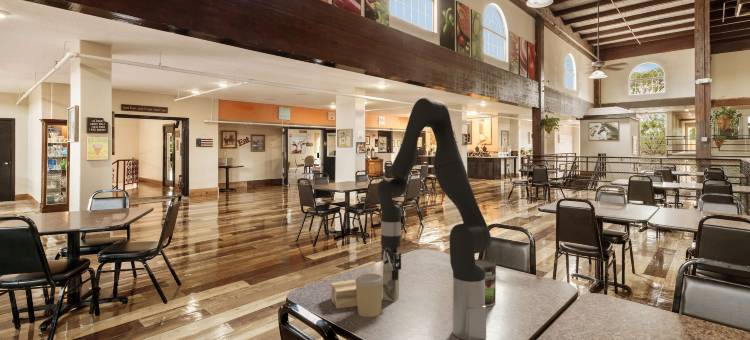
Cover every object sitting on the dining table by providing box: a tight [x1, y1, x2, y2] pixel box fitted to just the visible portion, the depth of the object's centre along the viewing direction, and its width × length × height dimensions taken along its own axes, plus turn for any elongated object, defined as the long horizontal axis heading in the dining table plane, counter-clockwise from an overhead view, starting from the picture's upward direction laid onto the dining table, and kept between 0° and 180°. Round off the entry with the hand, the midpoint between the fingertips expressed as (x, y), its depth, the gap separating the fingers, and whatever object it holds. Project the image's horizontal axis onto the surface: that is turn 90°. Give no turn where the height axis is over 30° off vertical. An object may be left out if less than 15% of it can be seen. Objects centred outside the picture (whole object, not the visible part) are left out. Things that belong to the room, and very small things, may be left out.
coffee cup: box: [354, 273, 383, 318], centre depth 128 cm, size 9×9×12 cm
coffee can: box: [475, 258, 497, 308], centre depth 137 cm, size 10×10×14 cm
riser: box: [330, 279, 358, 310], centre depth 138 cm, size 10×10×6 cm
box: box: [382, 263, 400, 303], centre depth 140 cm, size 5×4×13 cm
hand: (390, 276), depth 140 cm, fingers open, 8 cm apart
